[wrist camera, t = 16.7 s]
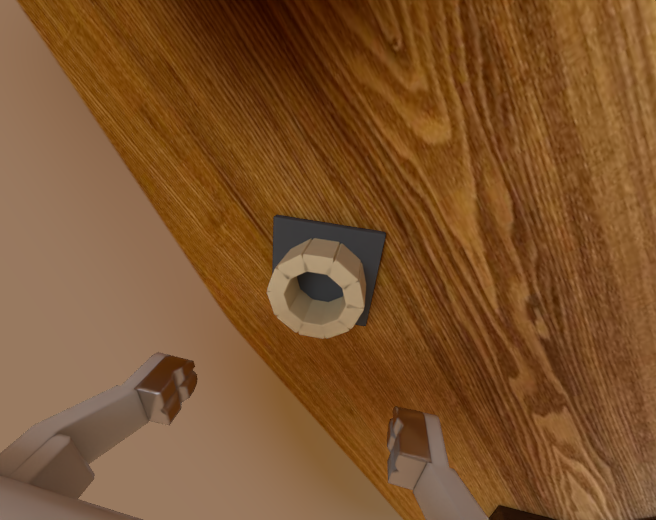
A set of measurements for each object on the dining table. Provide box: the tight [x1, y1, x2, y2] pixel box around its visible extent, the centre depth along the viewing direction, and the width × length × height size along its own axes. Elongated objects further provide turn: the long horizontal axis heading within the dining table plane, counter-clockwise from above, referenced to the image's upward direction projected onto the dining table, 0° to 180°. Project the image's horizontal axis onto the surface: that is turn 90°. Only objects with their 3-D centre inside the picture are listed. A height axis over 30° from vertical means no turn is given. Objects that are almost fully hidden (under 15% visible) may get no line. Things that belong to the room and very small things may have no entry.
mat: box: [273, 215, 386, 326], centre depth 20 cm, size 8×8×1 cm
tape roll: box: [267, 238, 366, 339], centre depth 18 cm, size 6×7×3 cm
